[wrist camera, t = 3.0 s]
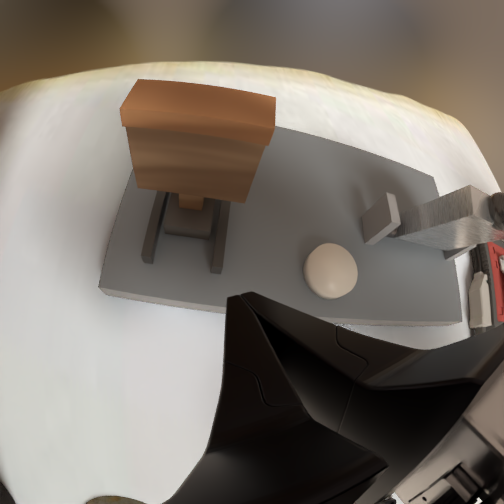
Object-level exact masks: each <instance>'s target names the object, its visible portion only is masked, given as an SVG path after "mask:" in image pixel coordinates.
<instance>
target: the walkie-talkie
mask: <svg viewBox="0 0 504 504" xmlns="http://www.w3.org/2000/svg"><path fill="white" fill-rule="evenodd" d="M471 254H472V259H473V267H474V273H475V274H474V279H473V280H472V283H471V286H470V289H469V292H468V294H469V308H470V321H469V326H470V328H474V329H475V336H476V335H478V334H481V333H484V332H486V331H489V330H491V329H493V328H495V327H497V326H499V325H501V324H503V323H504V242H503V241H501V240H496V241H491V242H486V243H481V244H477V245H476V247H475V248H473V249H471Z"/></svg>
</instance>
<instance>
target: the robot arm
mask: <svg viewBox="0 0 504 504" xmlns="http://www.w3.org/2000/svg"><path fill="white" fill-rule="evenodd" d="M394 492H395V493H396V494H397V496H398V497H399V498H400V499H401V501H402V502H403V503H404V504H475V503H476V502H477V501H478V500H477V498H478V497H479V498H480V499H481V500H482V501H483V502H481V503H480V504H504V323H503V324H501V325H499V326H497V327H495V328H493V329H491V330H489V331H486V332H484V333H481V334H478V335H476V336H473V337H470V338H467V339H464V340H462V341H459V342H456V343H453V344H450V345H447V346H443V347H440V348H437V349H431V350H420V349H414V348H410V347H406V346H402V345H398V344H394V343H390V342H387V341H383V340H379V339H376V338H372V337H369V336H365V335H362V334H359V333H356V332H353V331H351V330H348V329H345V328H343V327H340V326H336V325H335V324H332V323H329V322H327V321H324V320H322V319H319V318H317V317H314V316H312V315H309V314H307V313H304V312H302V311H299V310H297V309H294V308H292V307H289V306H287V305H284V304H282V303H279V302H277V301H275V300H272V299H270V298H267V297H265V296H263V295H260V294H258V293H255V292H253V291H250V292H246V293H242V294H240V295H234V296H230V297H227V302H226V319H225V337H224V357H223V374H222V384H221V390H220V396H219V401H218V405H217V409H216V413H215V417H214V422H213V426H212V430H211V434H210V438H209V441H208V444H207V447H206V450H205V452H204V454H203V456H202V458H201V459H200V460H199V462H198V463H197V465H196V466H195V467H194V469H193V470H192V471H191V473H190V474H189V475H188V477H187V478H186V479H185V481H184V482H183V483H182V485H181V486H180V487H179V489H178V490H177V491H176V493H175V494H174V495H173V496H172V497H171V498H170V499H168V500H167V501H165V502H164V503H162V504H353V503H354V502H355V503H356V504H396V500H395V499H393V498H390V499H387V500H384V499H385V498H387V497H388V496H390V495H391V494H393V493H394ZM382 500H384V501H382Z"/></svg>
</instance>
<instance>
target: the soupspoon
mask: <svg viewBox="0 0 504 504" xmlns="http://www.w3.org/2000/svg"><path fill="white" fill-rule="evenodd" d="M86 504H146V503H143V502H140V501H137V500H134V499H130V498H125V497H119V496H103V497H97V498H94V499H92V500H90V501H88V502H87V503H86Z"/></svg>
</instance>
